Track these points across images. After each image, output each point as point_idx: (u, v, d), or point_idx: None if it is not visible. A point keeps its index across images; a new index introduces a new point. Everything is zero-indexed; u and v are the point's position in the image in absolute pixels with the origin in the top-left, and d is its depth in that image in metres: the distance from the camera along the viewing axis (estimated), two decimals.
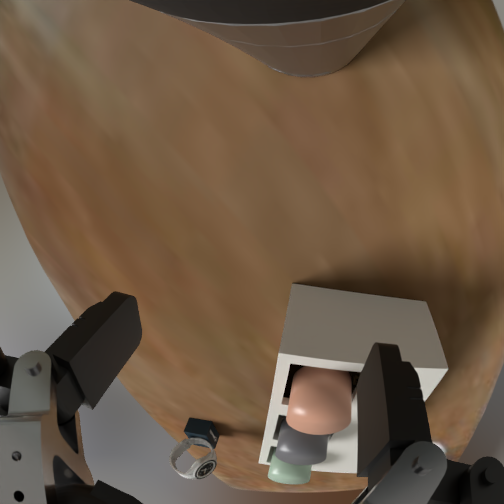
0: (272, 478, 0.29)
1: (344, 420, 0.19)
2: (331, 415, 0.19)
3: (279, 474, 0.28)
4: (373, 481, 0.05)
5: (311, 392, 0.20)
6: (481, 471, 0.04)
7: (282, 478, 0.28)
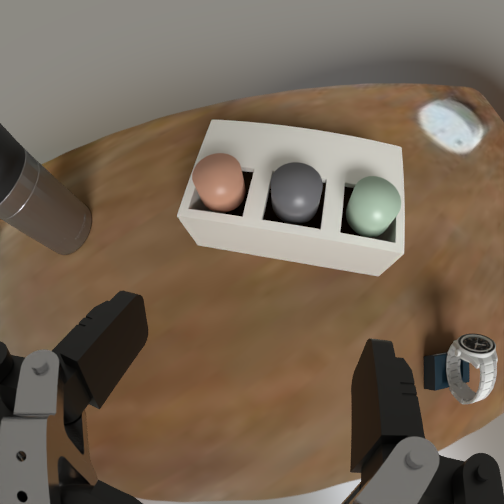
0: (386, 216, 0.26)
1: (217, 157, 0.30)
2: (208, 165, 0.30)
3: (365, 207, 0.27)
4: (365, 477, 0.05)
5: None
6: (474, 467, 0.04)
7: (379, 204, 0.27)
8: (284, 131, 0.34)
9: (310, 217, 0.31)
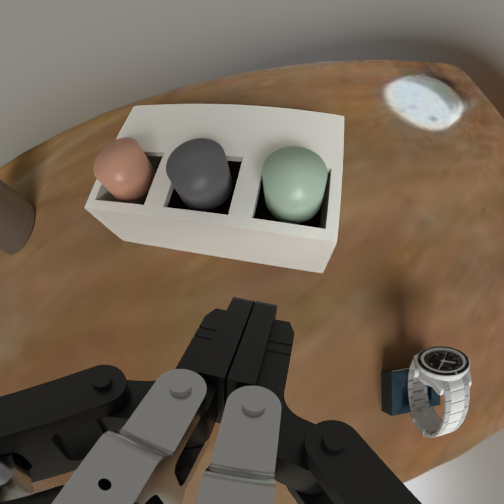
0: (304, 193, 0.22)
1: (119, 142, 0.25)
2: (110, 151, 0.25)
3: (276, 183, 0.22)
4: None
5: None
6: (324, 434, 0.05)
7: (296, 179, 0.22)
8: (204, 109, 0.30)
9: (218, 201, 0.26)
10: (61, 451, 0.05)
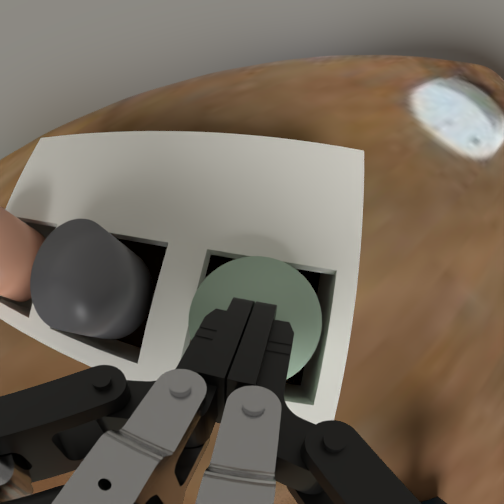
0: None
1: None
2: None
3: None
4: None
5: None
6: (324, 434, 0.05)
7: None
8: (121, 143, 0.17)
9: (124, 331, 0.13)
10: (61, 451, 0.05)
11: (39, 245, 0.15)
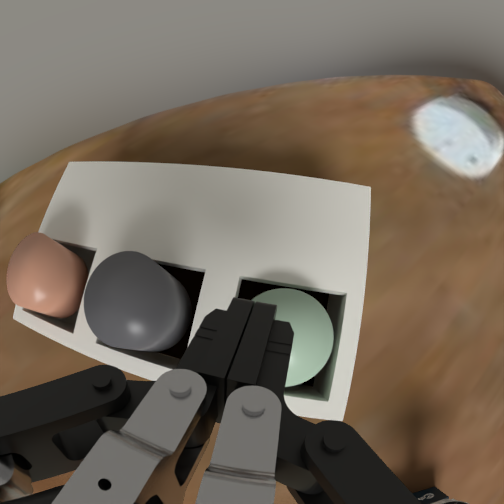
0: (295, 376, 0.14)
1: (33, 239, 0.16)
2: (23, 255, 0.16)
3: None
4: None
5: None
6: (324, 434, 0.05)
7: None
8: (154, 174, 0.20)
9: (168, 345, 0.16)
10: (61, 451, 0.05)
11: (80, 267, 0.18)
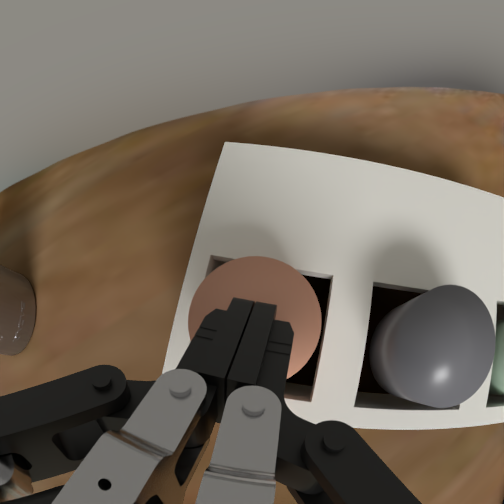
0: None
1: (251, 269, 0.12)
2: (230, 296, 0.11)
3: None
4: None
5: None
6: (324, 434, 0.05)
7: None
8: (384, 178, 0.15)
9: None
10: (61, 451, 0.05)
11: None
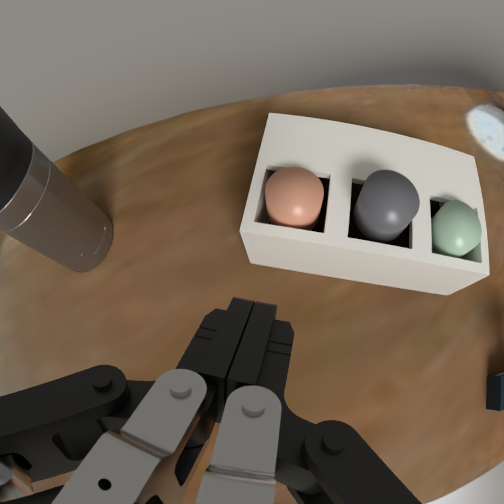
0: (471, 244, 0.22)
1: (292, 171, 0.26)
2: (283, 181, 0.26)
3: (452, 234, 0.22)
4: None
5: (266, 204, 0.26)
6: (324, 434, 0.05)
7: (464, 231, 0.22)
8: (357, 131, 0.28)
9: (399, 234, 0.24)
10: (61, 451, 0.05)
11: None
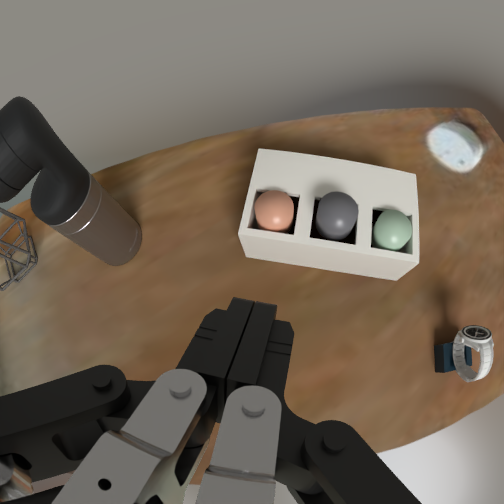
0: (401, 241, 0.35)
1: (273, 193, 0.39)
2: (267, 200, 0.39)
3: (386, 234, 0.36)
4: None
5: (256, 216, 0.40)
6: (324, 434, 0.05)
7: (396, 232, 0.36)
8: (321, 161, 0.41)
9: (347, 235, 0.38)
10: (61, 451, 0.05)
11: None
